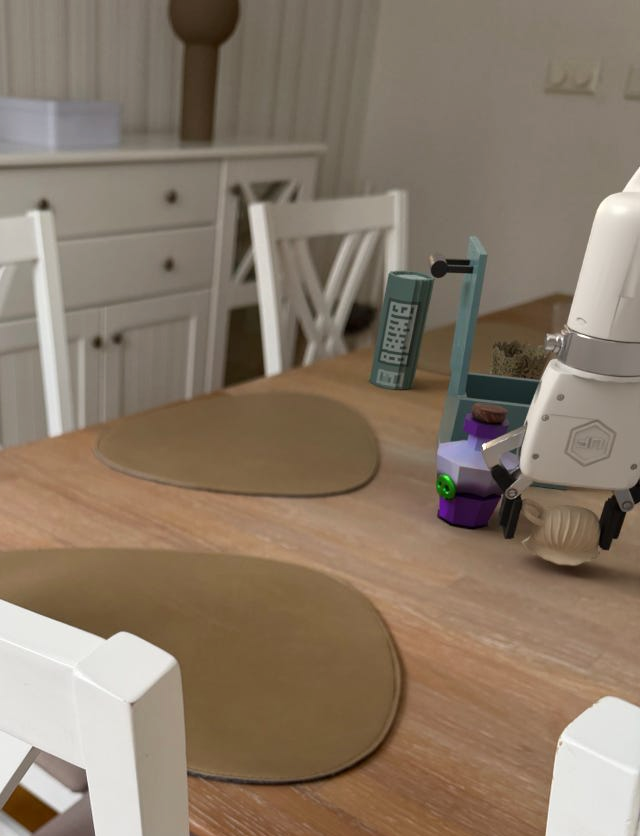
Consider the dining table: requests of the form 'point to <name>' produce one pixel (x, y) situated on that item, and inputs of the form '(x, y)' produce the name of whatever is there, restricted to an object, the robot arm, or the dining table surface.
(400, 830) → the dining table surface
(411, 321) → the can
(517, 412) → the box
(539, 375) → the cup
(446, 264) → the freezer lid
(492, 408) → the potion bottle
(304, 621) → the dining table surface
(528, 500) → the decorative ornament
